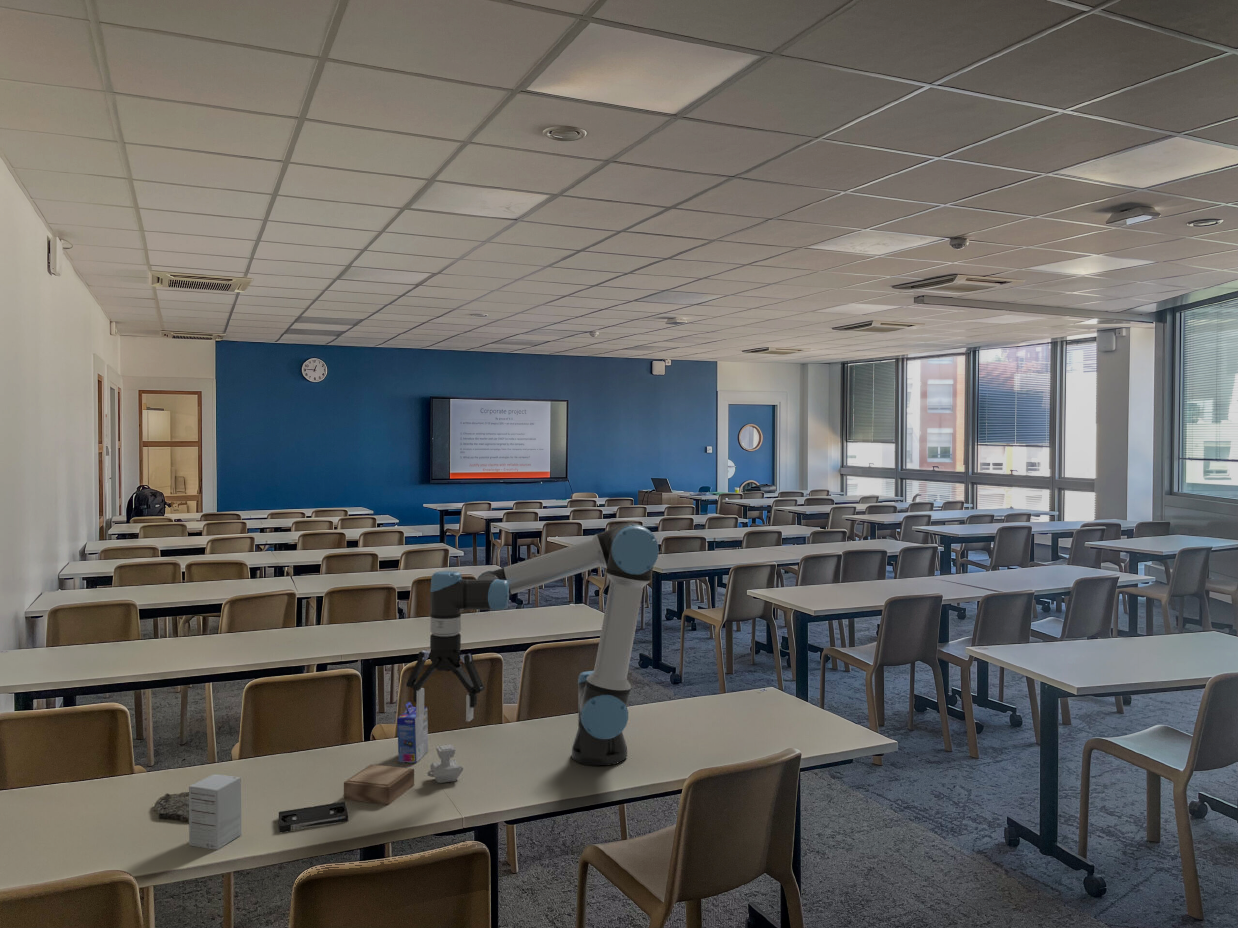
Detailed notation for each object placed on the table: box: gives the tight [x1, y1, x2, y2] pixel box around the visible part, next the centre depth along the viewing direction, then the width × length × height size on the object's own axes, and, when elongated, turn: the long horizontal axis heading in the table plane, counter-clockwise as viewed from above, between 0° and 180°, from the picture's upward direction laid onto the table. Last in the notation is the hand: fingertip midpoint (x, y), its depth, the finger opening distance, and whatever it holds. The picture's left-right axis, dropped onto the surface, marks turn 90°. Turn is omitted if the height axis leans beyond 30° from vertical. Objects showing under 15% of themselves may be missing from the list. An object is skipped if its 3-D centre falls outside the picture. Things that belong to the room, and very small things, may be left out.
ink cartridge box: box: [396, 701, 429, 764], centre depth 228 cm, size 10×6×14 cm, turn 174°
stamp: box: [426, 744, 464, 784], centre depth 211 cm, size 9×7×8 cm
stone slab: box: [152, 791, 189, 824], centre depth 193 cm, size 12×17×3 cm
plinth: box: [343, 764, 415, 805], centre depth 203 cm, size 12×12×4 cm
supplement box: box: [188, 773, 242, 851], centre depth 177 cm, size 7×7×13 cm
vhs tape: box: [278, 801, 349, 833], centre depth 188 cm, size 14×8×2 cm, turn 113°
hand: (444, 717), depth 211 cm, fingers open, 13 cm apart
